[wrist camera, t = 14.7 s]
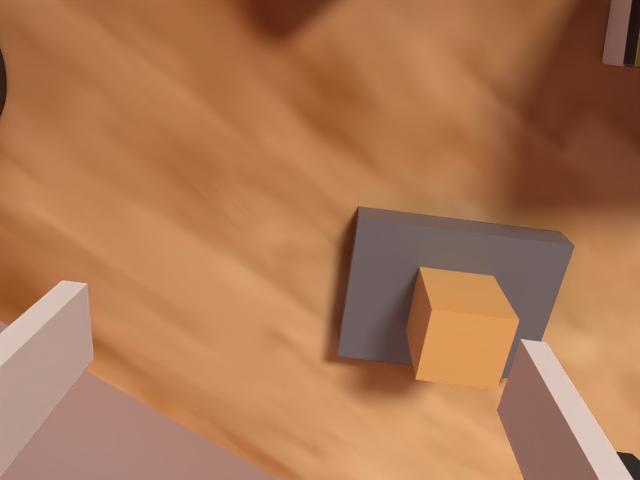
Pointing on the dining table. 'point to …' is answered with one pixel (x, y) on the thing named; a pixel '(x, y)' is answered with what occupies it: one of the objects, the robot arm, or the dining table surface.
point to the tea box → (623, 34)
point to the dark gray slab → (446, 254)
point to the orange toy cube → (459, 328)
